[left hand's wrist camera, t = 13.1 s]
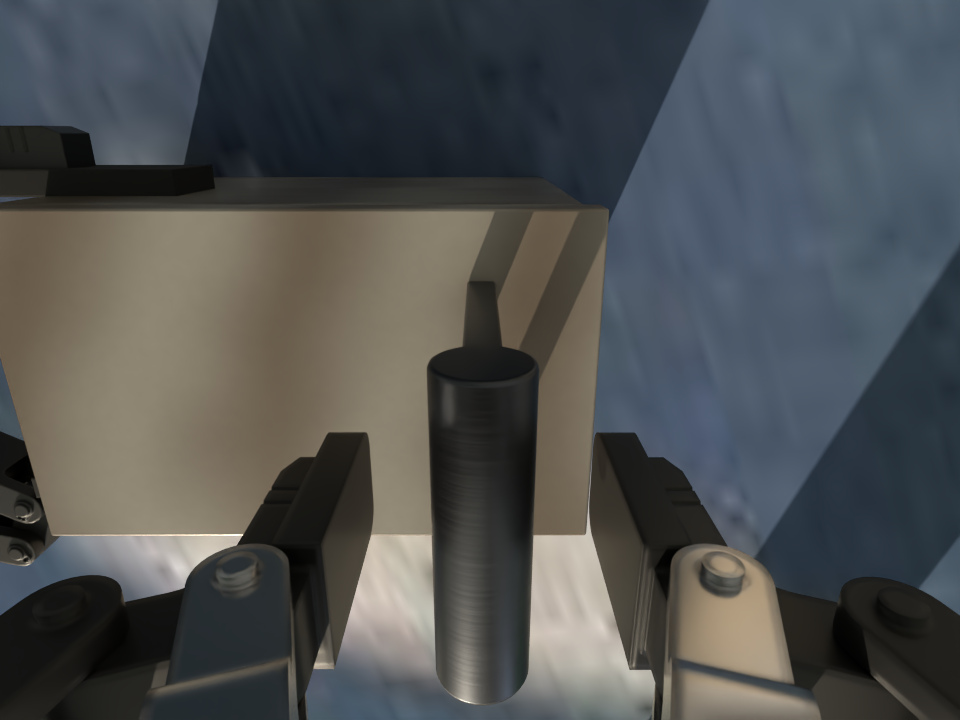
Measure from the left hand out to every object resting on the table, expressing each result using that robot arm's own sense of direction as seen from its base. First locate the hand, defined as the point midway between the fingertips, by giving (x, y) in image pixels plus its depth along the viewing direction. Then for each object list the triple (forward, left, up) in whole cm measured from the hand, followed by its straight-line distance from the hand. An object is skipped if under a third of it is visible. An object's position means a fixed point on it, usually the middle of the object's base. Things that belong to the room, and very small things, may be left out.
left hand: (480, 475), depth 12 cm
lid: (-3, +3, -5) cm, 7 cm away
